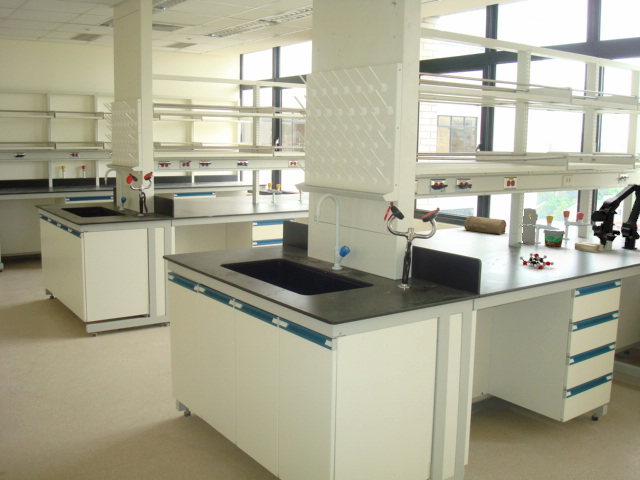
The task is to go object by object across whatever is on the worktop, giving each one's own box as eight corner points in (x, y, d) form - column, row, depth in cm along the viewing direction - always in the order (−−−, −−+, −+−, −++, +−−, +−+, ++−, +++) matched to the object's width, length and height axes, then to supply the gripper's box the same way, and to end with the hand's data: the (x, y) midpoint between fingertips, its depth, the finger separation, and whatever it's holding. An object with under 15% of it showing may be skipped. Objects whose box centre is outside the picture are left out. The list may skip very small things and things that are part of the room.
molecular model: (545, 263, 315) (560, 263, 300) (525, 276, 314) (539, 277, 299) (535, 246, 315) (549, 246, 300) (515, 259, 313) (528, 259, 299)
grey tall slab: (535, 243, 377) (539, 208, 374) (534, 244, 374) (537, 209, 370) (518, 242, 382) (521, 207, 379) (516, 242, 379) (519, 207, 375)
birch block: (584, 248, 368) (585, 241, 367) (603, 251, 358) (603, 244, 357) (574, 249, 362) (575, 243, 362) (593, 253, 353) (593, 246, 352)
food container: (540, 246, 368) (542, 230, 367) (542, 244, 374) (543, 228, 372) (562, 248, 363) (564, 231, 361) (563, 247, 368) (565, 230, 366)
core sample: (499, 235, 408) (500, 220, 407) (463, 230, 425) (464, 216, 423) (507, 233, 419) (509, 219, 417) (472, 229, 436) (473, 215, 434)
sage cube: (603, 248, 368) (604, 240, 367) (611, 249, 363) (612, 241, 363) (599, 248, 365) (599, 240, 364) (606, 250, 361) (607, 242, 360)
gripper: (604, 219, 373) (602, 244, 376) (586, 220, 363) (583, 246, 366) (622, 221, 364) (619, 247, 366) (603, 223, 354) (601, 249, 356)
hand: (605, 247), depth 364 cm, fingers closed on sage cube, 5 cm apart
